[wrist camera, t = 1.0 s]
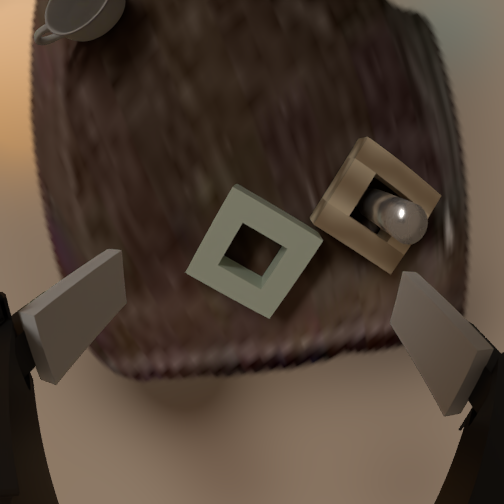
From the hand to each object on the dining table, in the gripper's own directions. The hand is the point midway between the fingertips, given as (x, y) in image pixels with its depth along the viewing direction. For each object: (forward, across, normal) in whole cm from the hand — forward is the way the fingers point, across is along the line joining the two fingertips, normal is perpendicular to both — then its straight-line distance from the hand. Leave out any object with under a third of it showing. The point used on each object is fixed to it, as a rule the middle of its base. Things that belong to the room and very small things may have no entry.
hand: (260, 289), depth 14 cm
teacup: (+26, -27, +27) cm, 46 cm away
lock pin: (+26, +14, +1) cm, 29 cm away
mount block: (+26, +14, +1) cm, 29 cm away
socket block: (+26, -1, -6) cm, 27 cm away
